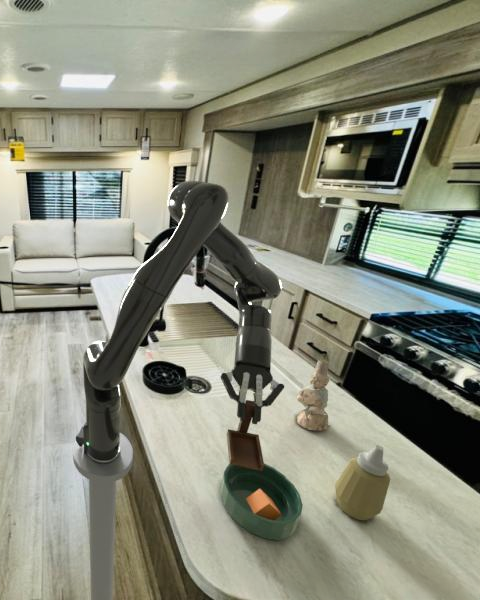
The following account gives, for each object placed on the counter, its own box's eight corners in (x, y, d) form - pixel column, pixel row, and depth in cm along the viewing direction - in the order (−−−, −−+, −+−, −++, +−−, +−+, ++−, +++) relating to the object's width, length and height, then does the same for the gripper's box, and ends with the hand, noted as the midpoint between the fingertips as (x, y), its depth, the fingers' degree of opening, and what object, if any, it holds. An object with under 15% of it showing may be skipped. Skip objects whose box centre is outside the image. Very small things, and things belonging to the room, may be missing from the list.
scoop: (226, 429, 77) (234, 398, 71) (255, 434, 75) (266, 403, 69) (229, 464, 70) (238, 433, 64) (262, 471, 68) (275, 439, 62)
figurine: (306, 409, 99) (323, 356, 92) (334, 428, 92) (355, 371, 84) (286, 417, 96) (302, 362, 89) (314, 437, 89) (334, 379, 81)
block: (259, 488, 69) (269, 503, 65) (271, 499, 69) (282, 515, 65) (245, 498, 69) (254, 514, 65) (257, 510, 70) (266, 526, 66)
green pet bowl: (221, 524, 67) (224, 507, 65) (220, 467, 80) (223, 451, 78) (303, 553, 62) (310, 535, 60) (288, 487, 75) (293, 470, 73)
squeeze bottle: (325, 486, 75) (347, 428, 68) (367, 497, 72) (394, 438, 66) (337, 518, 68) (363, 457, 61) (384, 532, 65) (416, 470, 59)
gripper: (223, 338, 74) (216, 413, 68) (291, 348, 69) (289, 430, 63) (220, 347, 81) (213, 416, 75) (281, 357, 76) (279, 431, 70)
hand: (248, 422), depth 69 cm, fingers closed on scoop
